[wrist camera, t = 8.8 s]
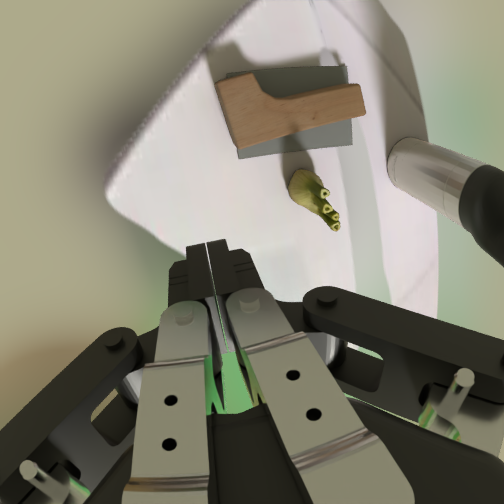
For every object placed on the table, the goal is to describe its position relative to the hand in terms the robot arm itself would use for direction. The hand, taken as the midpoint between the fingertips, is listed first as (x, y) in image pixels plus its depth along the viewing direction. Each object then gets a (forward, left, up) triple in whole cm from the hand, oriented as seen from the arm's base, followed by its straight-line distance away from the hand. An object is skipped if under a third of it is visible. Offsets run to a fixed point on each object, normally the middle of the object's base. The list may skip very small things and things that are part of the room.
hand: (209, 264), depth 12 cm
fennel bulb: (-14, +9, -34) cm, 37 cm away
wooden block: (-4, -3, -31) cm, 31 cm away
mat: (-14, -3, -33) cm, 36 cm away
